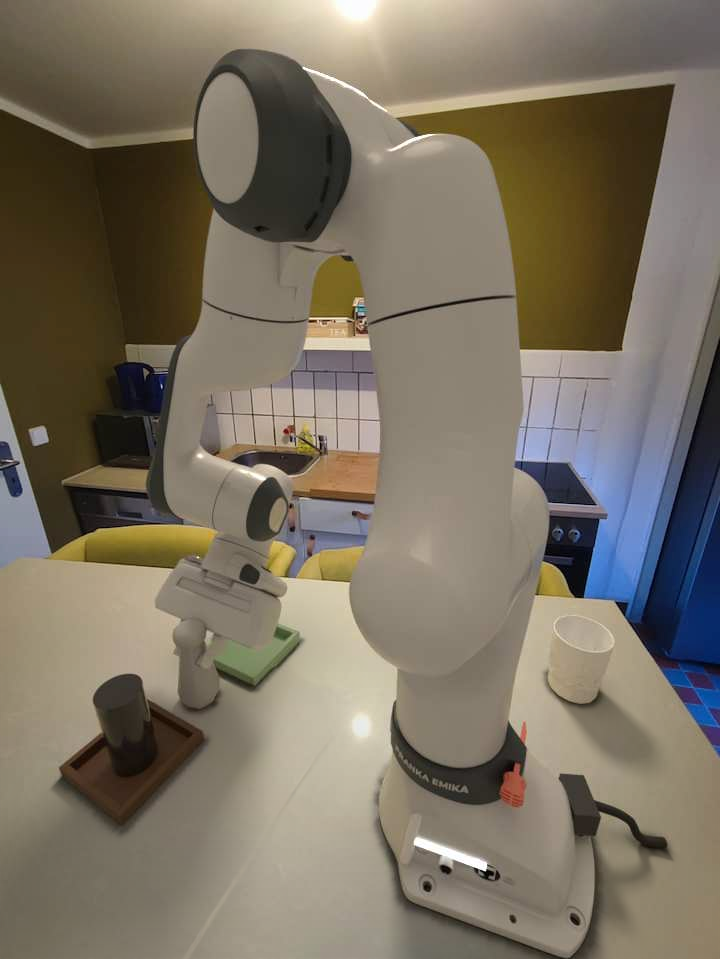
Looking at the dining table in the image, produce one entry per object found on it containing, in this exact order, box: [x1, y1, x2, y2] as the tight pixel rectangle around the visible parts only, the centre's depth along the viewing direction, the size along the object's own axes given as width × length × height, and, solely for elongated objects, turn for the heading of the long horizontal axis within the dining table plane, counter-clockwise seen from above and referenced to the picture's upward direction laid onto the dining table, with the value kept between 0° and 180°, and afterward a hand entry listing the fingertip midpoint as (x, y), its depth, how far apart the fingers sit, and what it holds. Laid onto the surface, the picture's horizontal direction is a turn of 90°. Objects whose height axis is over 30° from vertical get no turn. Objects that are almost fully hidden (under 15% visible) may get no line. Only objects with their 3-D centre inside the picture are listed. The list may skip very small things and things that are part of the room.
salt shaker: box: [172, 619, 221, 710], centre depth 61 cm, size 6×6×13 cm
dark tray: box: [58, 698, 205, 826], centre depth 54 cm, size 12×12×2 cm
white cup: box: [547, 614, 616, 705], centre depth 63 cm, size 8×8×10 cm
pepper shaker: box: [92, 673, 158, 777], centre depth 52 cm, size 5×5×11 cm
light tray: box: [206, 623, 301, 687], centre depth 72 cm, size 12×12×2 cm
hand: (190, 661), depth 60 cm, fingers closed on salt shaker, 3 cm apart
